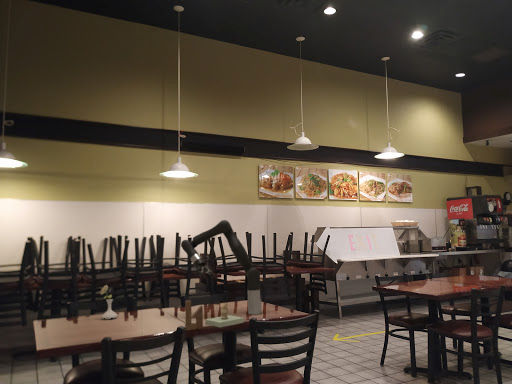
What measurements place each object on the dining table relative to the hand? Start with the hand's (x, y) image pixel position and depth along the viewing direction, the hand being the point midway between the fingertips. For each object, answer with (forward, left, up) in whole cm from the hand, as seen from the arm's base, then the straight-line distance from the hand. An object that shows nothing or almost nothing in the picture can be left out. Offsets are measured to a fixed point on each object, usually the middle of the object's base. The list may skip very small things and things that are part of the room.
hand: (209, 277), depth 301 cm
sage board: (+2, +21, -29) cm, 35 cm away
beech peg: (+2, +21, -29) cm, 35 cm away
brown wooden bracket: (+26, +21, -29) cm, 44 cm away
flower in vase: (+49, -60, -29) cm, 83 cm away
